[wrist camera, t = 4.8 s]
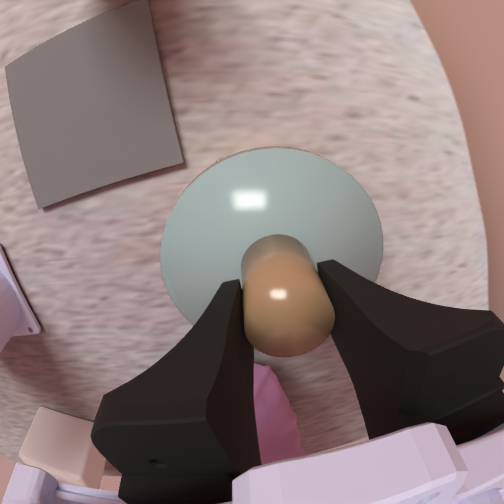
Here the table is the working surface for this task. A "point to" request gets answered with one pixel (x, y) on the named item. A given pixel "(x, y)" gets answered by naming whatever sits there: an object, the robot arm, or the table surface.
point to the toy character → (274, 418)
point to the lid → (270, 242)
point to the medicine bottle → (63, 448)
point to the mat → (93, 106)
